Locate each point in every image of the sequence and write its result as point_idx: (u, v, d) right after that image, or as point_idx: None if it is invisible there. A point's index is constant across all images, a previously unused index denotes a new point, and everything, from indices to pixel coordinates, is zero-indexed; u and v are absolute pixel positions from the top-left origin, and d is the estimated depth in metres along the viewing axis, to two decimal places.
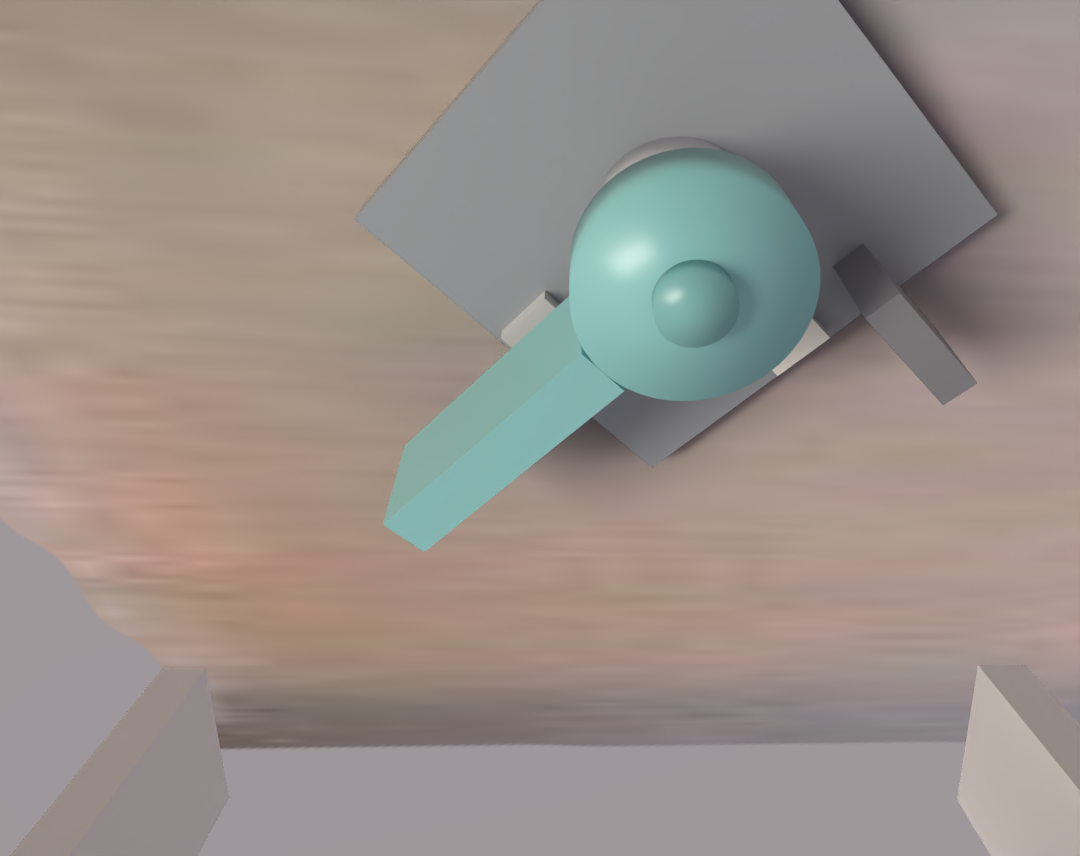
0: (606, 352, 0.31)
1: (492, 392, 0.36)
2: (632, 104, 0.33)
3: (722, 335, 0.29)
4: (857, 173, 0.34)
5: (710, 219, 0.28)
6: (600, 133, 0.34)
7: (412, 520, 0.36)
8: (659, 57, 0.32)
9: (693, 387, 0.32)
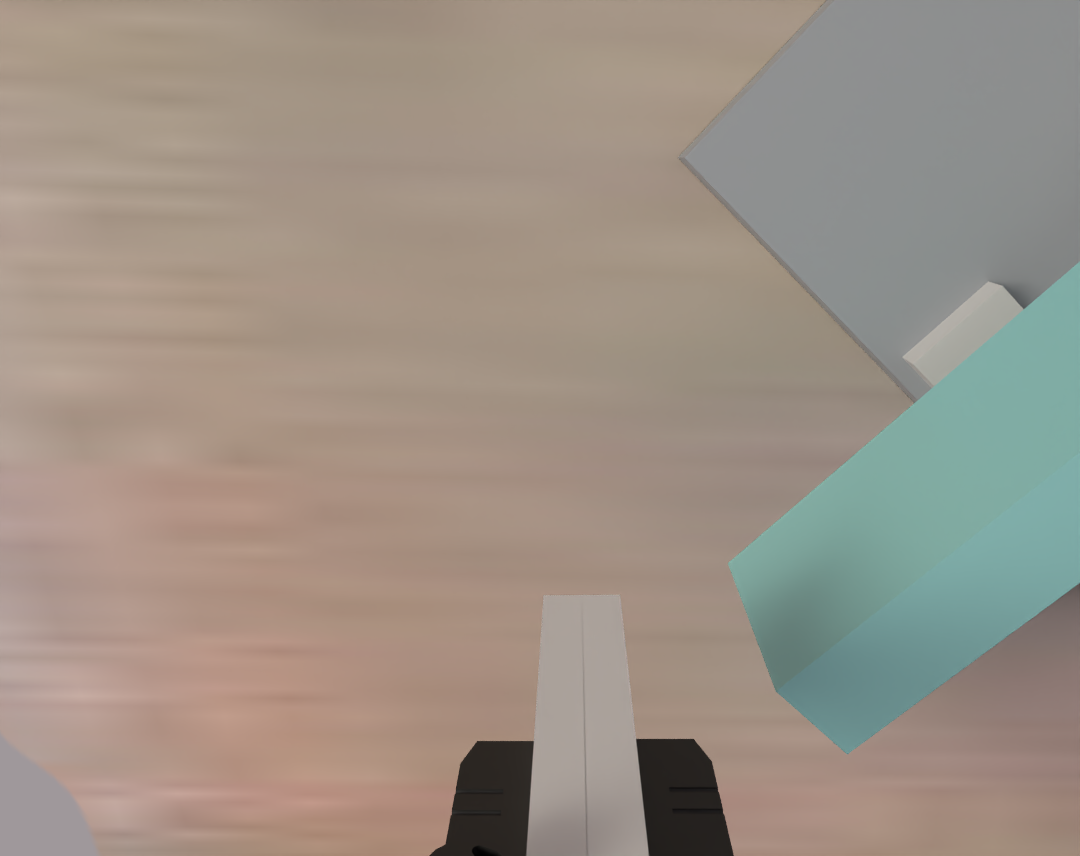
0: None
1: (967, 428, 0.19)
2: None
3: None
4: None
5: None
6: None
7: (839, 681, 0.18)
8: None
9: None
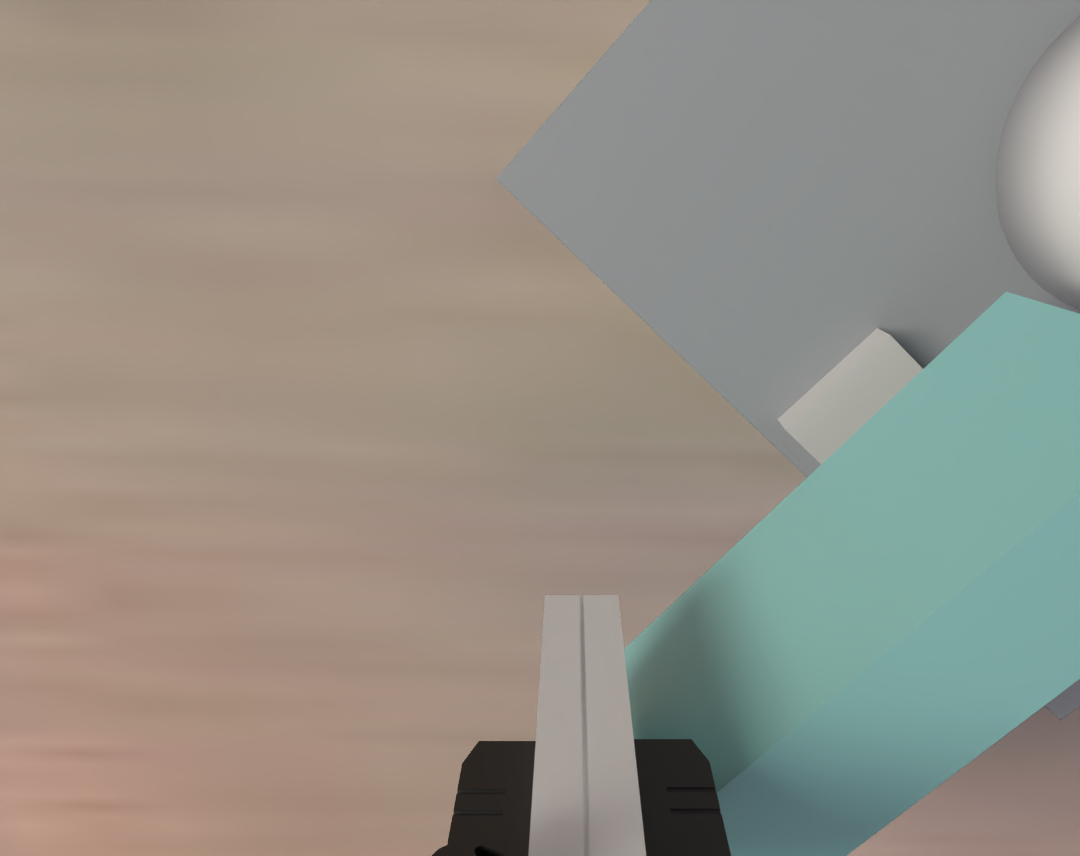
0: None
1: (837, 538, 0.15)
2: None
3: None
4: None
5: None
6: None
7: None
8: None
9: None
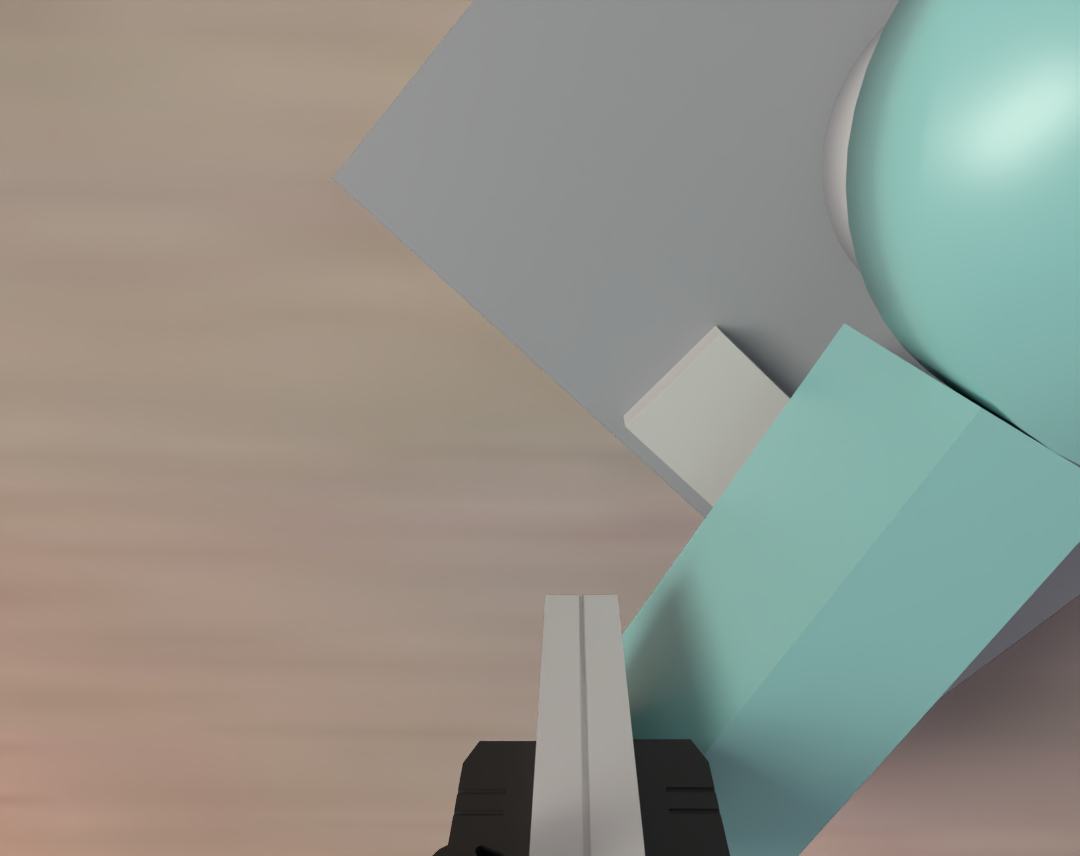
0: (1057, 385, 0.11)
1: (711, 595, 0.15)
2: None
3: None
4: None
5: None
6: None
7: None
8: None
9: None
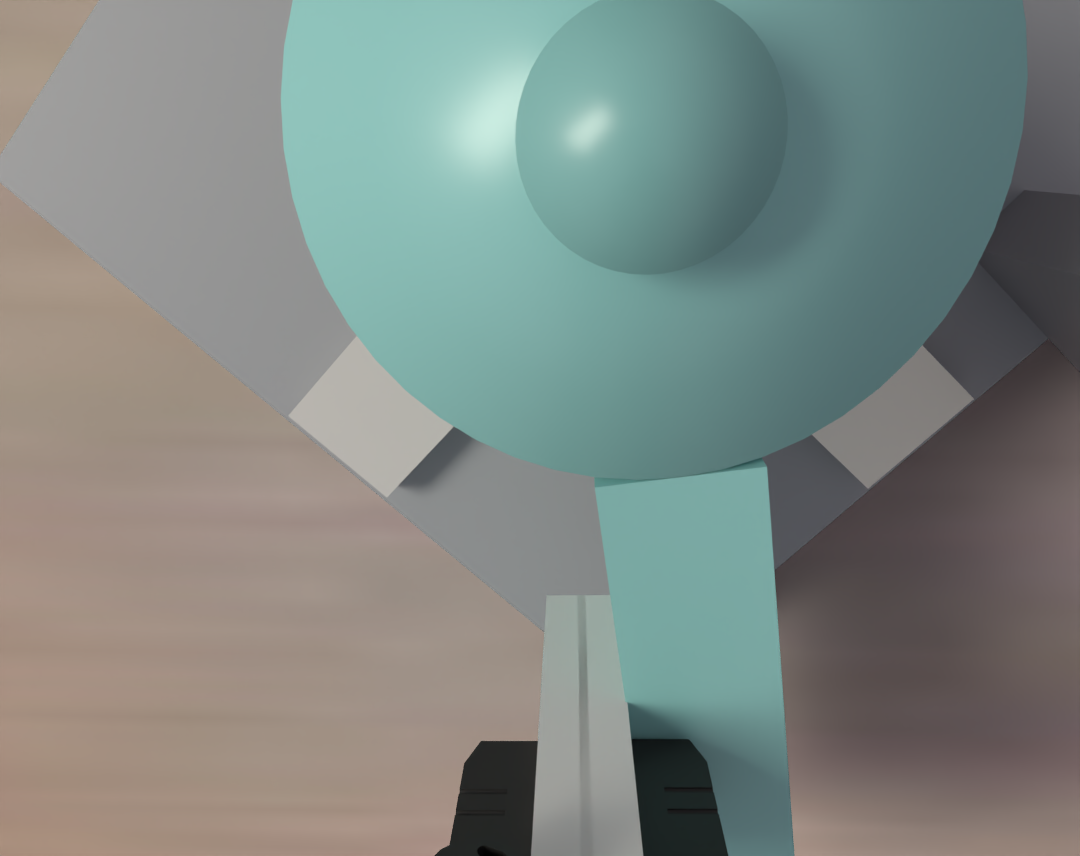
0: (633, 432, 0.11)
1: None
2: None
3: (780, 115, 0.09)
4: None
5: None
6: None
7: None
8: None
9: (897, 304, 0.10)
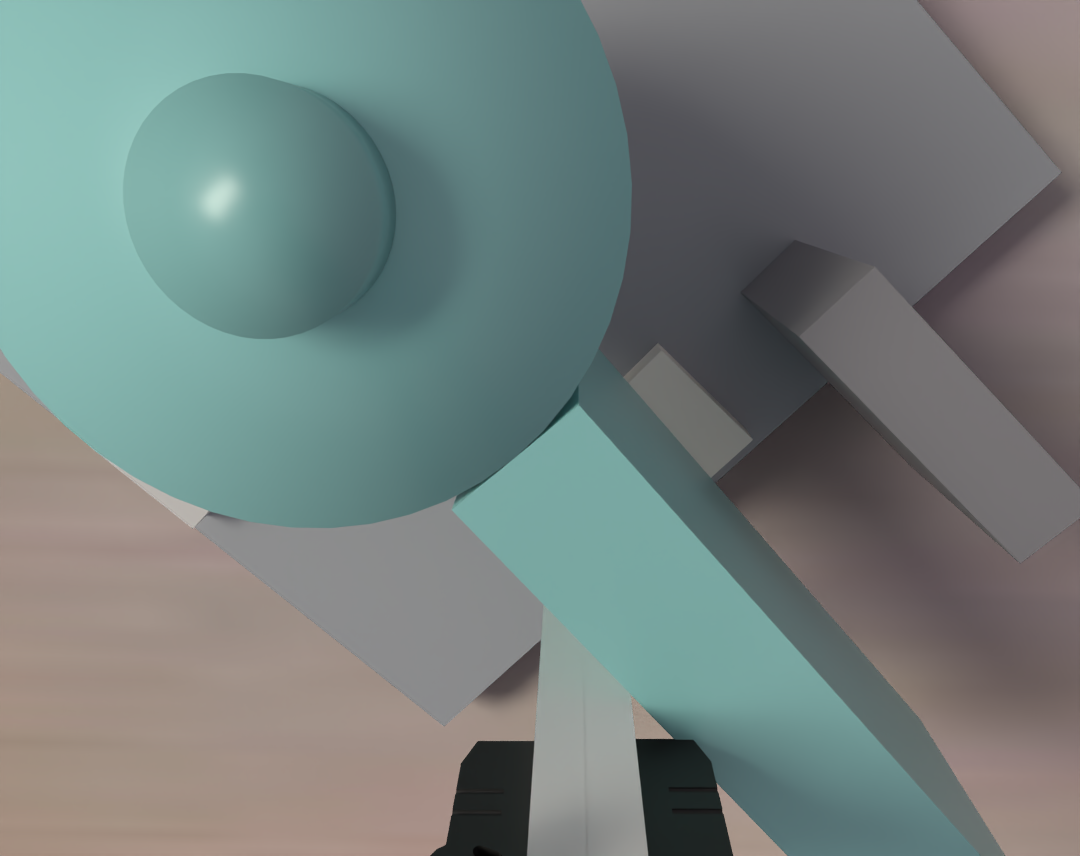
0: (449, 445, 0.11)
1: None
2: None
3: (333, 125, 0.09)
4: (762, 87, 0.17)
5: (49, 166, 0.10)
6: None
7: None
8: None
9: (581, 200, 0.10)
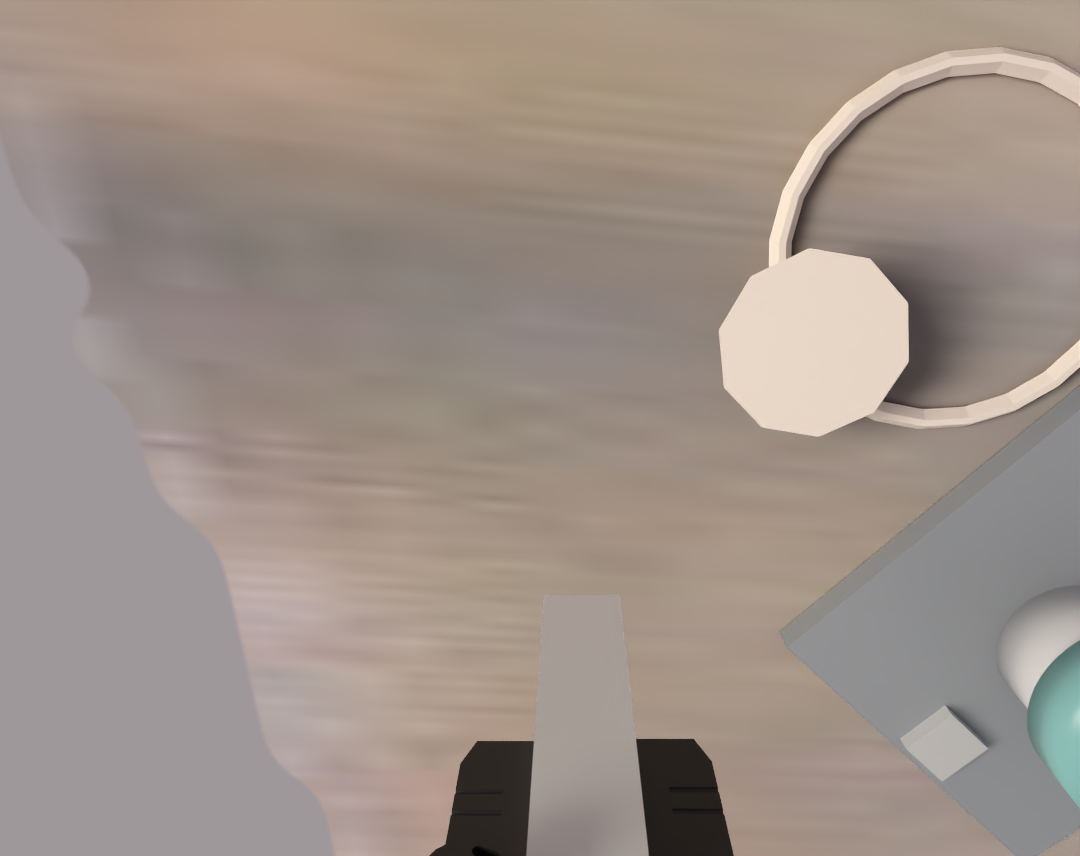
0: None
1: None
2: (1043, 562, 0.40)
3: None
4: None
5: None
6: (1012, 582, 0.40)
7: None
8: (1069, 529, 0.39)
9: None
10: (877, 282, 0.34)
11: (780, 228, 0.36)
